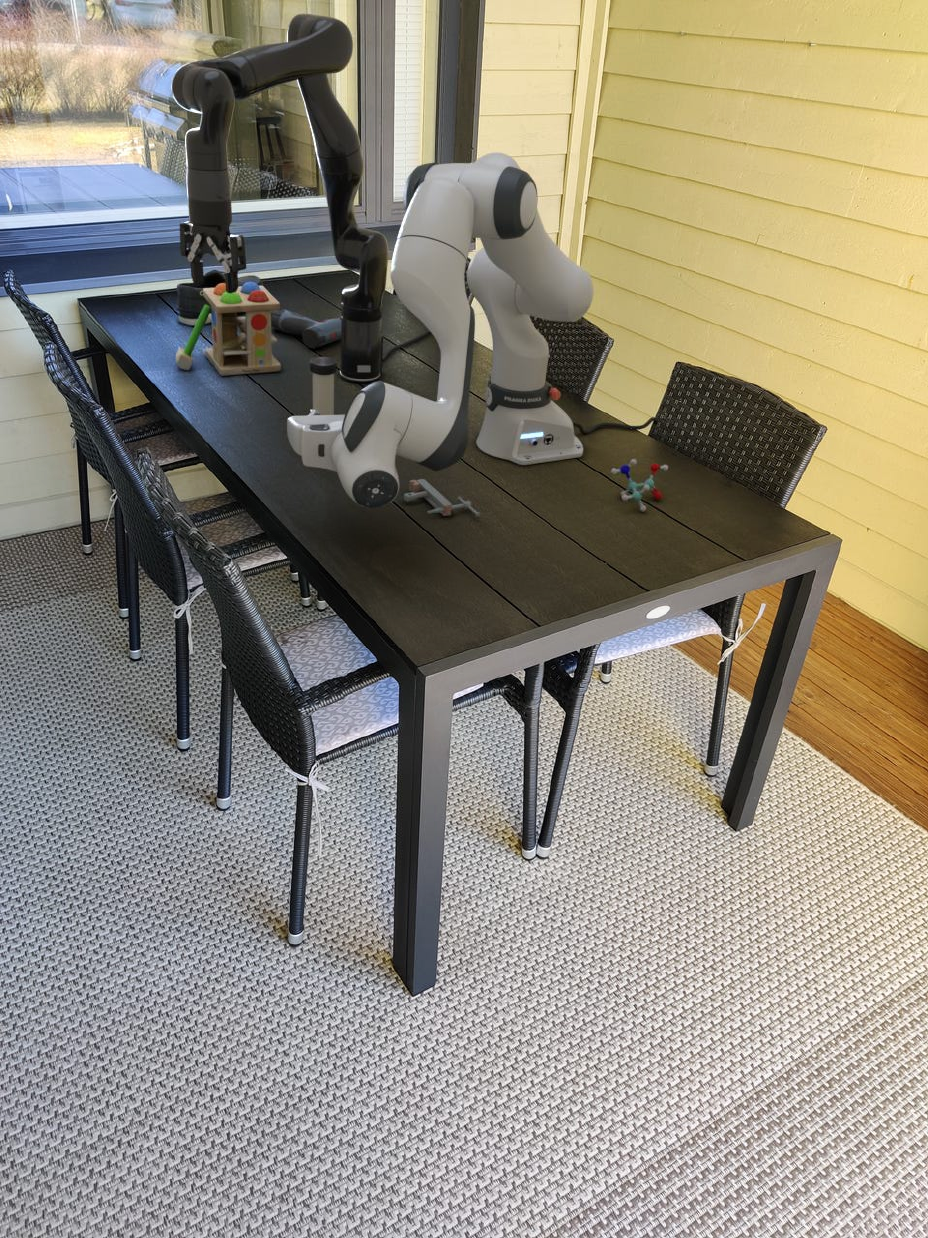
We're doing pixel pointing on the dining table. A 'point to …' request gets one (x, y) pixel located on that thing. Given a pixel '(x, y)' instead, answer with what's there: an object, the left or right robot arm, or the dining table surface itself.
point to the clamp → (434, 498)
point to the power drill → (307, 327)
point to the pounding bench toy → (229, 347)
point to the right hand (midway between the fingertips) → (341, 412)
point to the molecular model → (633, 485)
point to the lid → (323, 365)
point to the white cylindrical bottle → (323, 393)
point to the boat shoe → (193, 297)
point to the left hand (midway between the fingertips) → (214, 287)
